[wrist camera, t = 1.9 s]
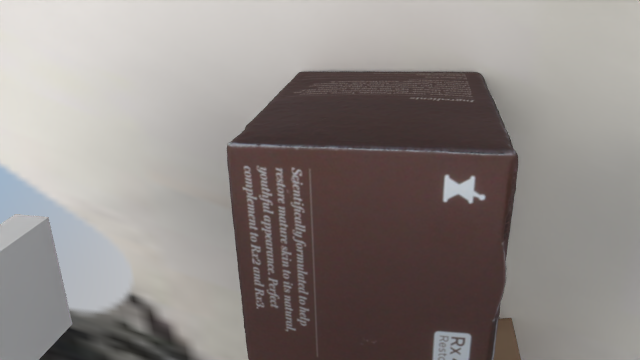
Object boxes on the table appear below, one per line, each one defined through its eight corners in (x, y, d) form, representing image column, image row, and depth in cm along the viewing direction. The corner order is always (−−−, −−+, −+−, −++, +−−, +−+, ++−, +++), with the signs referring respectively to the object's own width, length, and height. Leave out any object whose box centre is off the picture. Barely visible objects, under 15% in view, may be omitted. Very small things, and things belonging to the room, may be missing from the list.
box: (297, 66, 18) (219, 135, 11) (486, 69, 17) (525, 147, 10) (303, 229, 20) (242, 366, 13) (469, 240, 19) (492, 395, 12)
